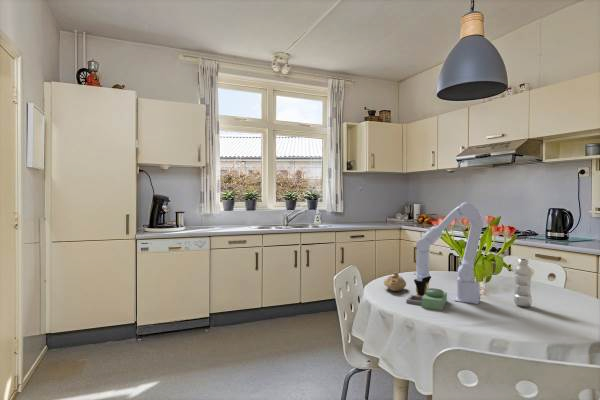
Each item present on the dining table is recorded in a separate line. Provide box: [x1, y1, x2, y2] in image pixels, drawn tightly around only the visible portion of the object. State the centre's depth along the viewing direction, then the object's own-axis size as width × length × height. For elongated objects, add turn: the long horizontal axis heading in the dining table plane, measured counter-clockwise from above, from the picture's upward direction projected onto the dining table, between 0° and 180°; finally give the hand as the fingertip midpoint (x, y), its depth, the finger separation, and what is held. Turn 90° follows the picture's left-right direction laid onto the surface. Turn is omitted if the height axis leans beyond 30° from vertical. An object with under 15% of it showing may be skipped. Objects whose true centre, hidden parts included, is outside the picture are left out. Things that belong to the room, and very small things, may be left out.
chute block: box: [415, 282, 430, 296], centre depth 168 cm, size 5×4×6 cm
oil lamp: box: [383, 271, 407, 292], centre depth 179 cm, size 11×15×8 cm
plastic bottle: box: [513, 258, 533, 308], centre depth 153 cm, size 6×7×20 cm
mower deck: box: [405, 287, 448, 311], centre depth 158 cm, size 15×14×6 cm
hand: (422, 293), depth 168 cm, fingers open, 7 cm apart
